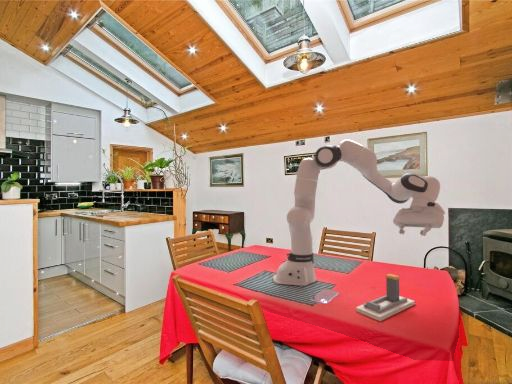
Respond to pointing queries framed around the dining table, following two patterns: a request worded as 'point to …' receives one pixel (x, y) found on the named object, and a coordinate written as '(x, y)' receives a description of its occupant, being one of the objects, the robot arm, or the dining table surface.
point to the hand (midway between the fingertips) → (411, 234)
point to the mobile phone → (325, 296)
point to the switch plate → (384, 307)
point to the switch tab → (392, 287)
